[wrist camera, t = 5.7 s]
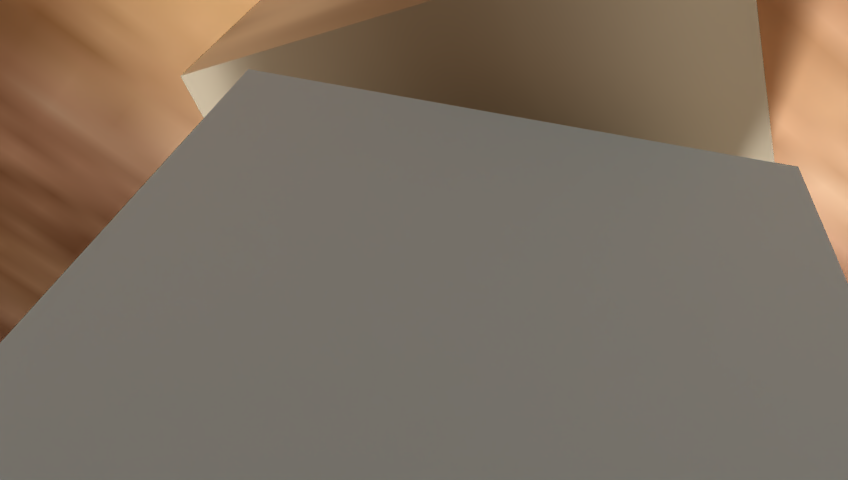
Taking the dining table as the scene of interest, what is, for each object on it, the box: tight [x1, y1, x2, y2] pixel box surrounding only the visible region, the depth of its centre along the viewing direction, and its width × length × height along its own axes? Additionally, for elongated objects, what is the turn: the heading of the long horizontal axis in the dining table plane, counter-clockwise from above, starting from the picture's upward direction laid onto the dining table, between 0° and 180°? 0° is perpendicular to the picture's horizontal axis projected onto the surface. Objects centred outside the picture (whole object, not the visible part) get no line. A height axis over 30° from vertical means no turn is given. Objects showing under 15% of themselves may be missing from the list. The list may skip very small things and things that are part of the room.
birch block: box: [181, 0, 775, 163], centre depth 13 cm, size 7×7×5 cm
